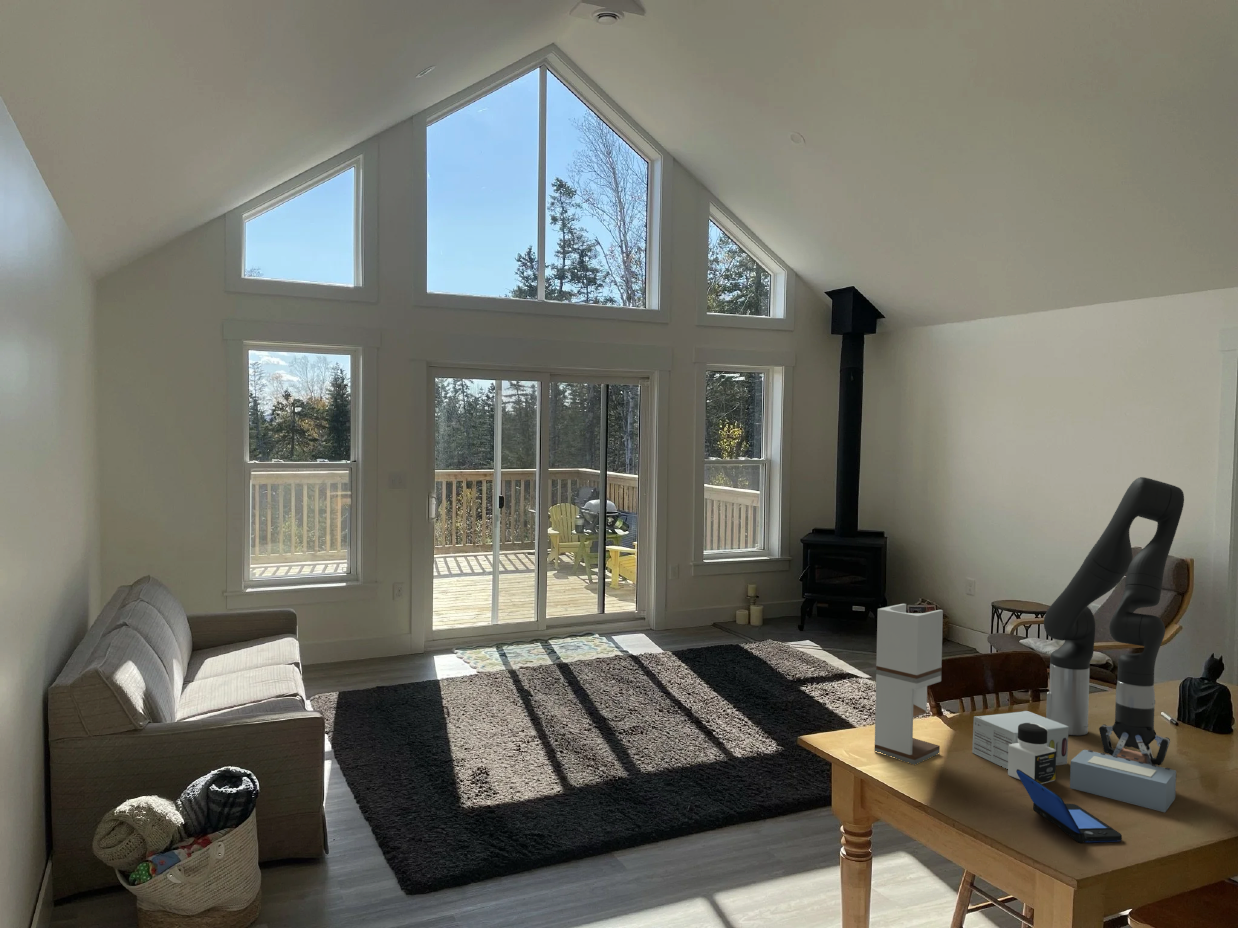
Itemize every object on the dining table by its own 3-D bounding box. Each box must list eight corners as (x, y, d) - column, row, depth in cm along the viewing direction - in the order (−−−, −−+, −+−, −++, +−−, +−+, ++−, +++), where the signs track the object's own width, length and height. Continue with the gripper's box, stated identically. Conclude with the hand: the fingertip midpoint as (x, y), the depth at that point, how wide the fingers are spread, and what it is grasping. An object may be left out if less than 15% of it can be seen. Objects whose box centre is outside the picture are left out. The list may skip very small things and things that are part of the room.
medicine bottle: (1034, 786, 191) (1036, 732, 191) (1007, 775, 198) (1008, 722, 197) (1056, 780, 195) (1057, 727, 194) (1028, 769, 201) (1029, 718, 201)
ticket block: (1069, 787, 191) (1070, 759, 191) (1082, 775, 198) (1083, 748, 198) (1165, 812, 179) (1166, 782, 178) (1175, 798, 186) (1176, 769, 186)
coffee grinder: (914, 764, 203) (918, 615, 202) (874, 752, 211) (877, 608, 210) (939, 753, 211) (942, 610, 210) (899, 742, 219) (903, 603, 218)
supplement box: (1013, 773, 199) (1014, 732, 199) (971, 753, 212) (972, 715, 212) (1069, 764, 205) (1070, 725, 205) (1025, 746, 218) (1026, 708, 217)
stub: (1115, 781, 194) (1116, 754, 194) (1122, 774, 199) (1123, 747, 199) (1141, 787, 191) (1142, 759, 191) (1147, 780, 195) (1148, 753, 195)
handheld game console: (1125, 843, 165) (1126, 795, 165) (1058, 846, 164) (1060, 797, 163) (1074, 808, 180) (1075, 764, 180) (1012, 810, 179) (1014, 766, 179)
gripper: (1094, 698, 197) (1092, 773, 197) (1168, 712, 187) (1166, 791, 188) (1103, 692, 202) (1101, 764, 203) (1175, 705, 193) (1173, 781, 193)
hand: (1132, 776), depth 195 cm, fingers closed on stub, 5 cm apart
